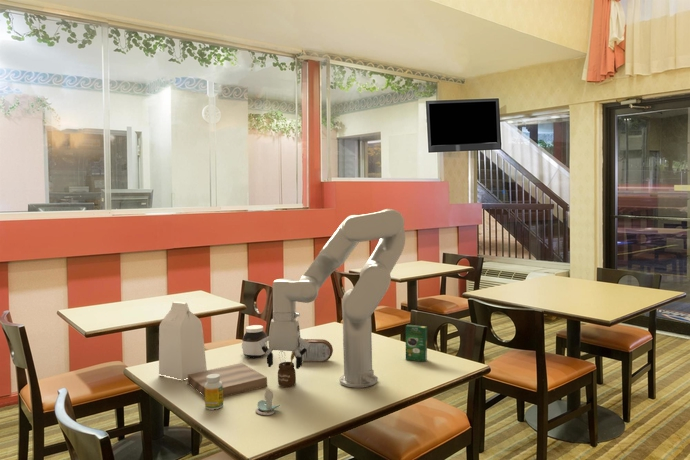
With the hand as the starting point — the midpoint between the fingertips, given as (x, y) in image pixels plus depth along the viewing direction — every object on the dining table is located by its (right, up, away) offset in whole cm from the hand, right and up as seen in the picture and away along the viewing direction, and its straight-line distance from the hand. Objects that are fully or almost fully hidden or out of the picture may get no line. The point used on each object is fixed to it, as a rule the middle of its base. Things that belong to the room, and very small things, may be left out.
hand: (284, 366), depth 180 cm
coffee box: (+47, -4, +23) cm, 53 cm away
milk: (-38, -7, +14) cm, 41 cm away
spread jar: (-16, -5, +36) cm, 40 cm away
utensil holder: (+1, -6, 0) cm, 6 cm away
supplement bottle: (-19, -8, -17) cm, 27 cm away
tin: (+8, -5, +25) cm, 27 cm away
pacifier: (-3, -8, -22) cm, 23 cm away
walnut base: (-20, -7, +2) cm, 21 cm away
